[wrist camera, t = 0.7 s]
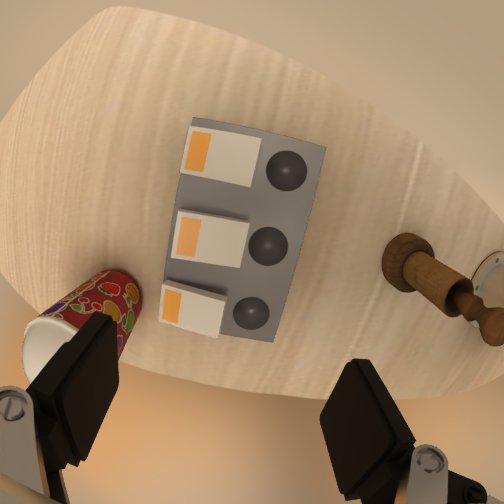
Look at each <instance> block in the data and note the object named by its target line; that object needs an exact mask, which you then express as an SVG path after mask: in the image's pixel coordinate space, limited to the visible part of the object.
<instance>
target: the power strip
mask: <svg viewBox="0 0 504 504" xmlns="http://www.w3.org/2000/svg"><path fill="white" fill-rule="evenodd" d="M191 126H195V127H202V128H208V129H214V130H220V131H226V132H232V133H237V134H242V135H248V136H252V137H257V138H262V140H263V142H262V147H261V151H260V155H259V160H258V164H257V168H256V173H255V177H254V181H253V186H252V187H246V186H242V185H237V184H233V183H228V182H223V181H219V180H214V179H209V178H204V177H199V176H194V175H189V174H184V173H181V174H180V179H179V184H178V189H177V195H176V200H175V206H174V212H173V218H172V224H171V230H170V237H169V243H168V250H167V258H166V265H165V273H164V281H163V283H164V282H165V281H166V280H170V281H174V282H177V283H181V284H184V285H188V286H191V287H195V288H198V289H202V290H206V291H209V292H213V293H217V294H220V295H224V296H228V298H227V303H226V308H225V313H224V317H223V322H222V327H221V331H220V334H224V335H230V336H235V337H241V338H247V339H253V340H259V341H266V342H272V343H273V341H274V338H275V335H276V332H277V328H278V325H279V322H280V319H281V315H282V312H283V309H284V305H285V302H286V299H287V295H288V292H289V289H290V285H291V282H292V278H293V275H294V271H295V268H296V264H297V261H298V257H299V253H300V250H301V246H302V243H303V239H304V235H305V231H306V228H307V224H308V220H309V216H310V212H311V209H312V205H313V201H314V197H315V193H316V189H317V185H318V181H319V177H320V172H321V168H322V164H323V160H324V156H325V151H326V147H323V146H320V145H316V144H313V143H310V142H306V141H302V140H299V139H295V138H291V137H287V136H283V135H279V134H275V133H271V132H267V131H263V130H258V129H254V128H249V127H245V126H240V125H235V124H230V123H225V122H219V121H214V120H208V119H202V118H196V117H193V119H192V123H191ZM179 209H185V210H191V211H197V212H202V213H208V214H214V215H220V216H225V217H231V218H236V219H242V220H247V221H248V222H249V223H250V225H249V229H248V234H247V238H246V243H245V247H244V252H243V256H242V260H241V265H240V268H236V267H229V266H222V265H216V264H209V263H202V262H196V261H189V260H183V259H176V258H171V252H172V246H173V239H174V233H175V226H176V220H177V215H178V210H179Z"/></svg>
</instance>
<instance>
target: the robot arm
mask: <svg viewBox="0 0 504 504" xmlns="http://www.w3.org/2000/svg"><path fill="white" fill-rule="evenodd" d="M472 283H473V287H474V295H477V296H479V297H481V298H482V299H483V302H484V306H485V307H487V308H494V307H502V308H504V252H497V253H494V254H492V255H491V256H489V257H488V258H487V259H486V260H485V261H484V262H483V263H482V265H481V266H480V267H479V269H478V270H477V272H476V274H475V276H474V278H473V280H472ZM470 323H471V324H472V325H473V326H474V327H476V328H479V324H478V323H477V321H476V320H474V321H472V322H470ZM118 385H119V372H118V346H117V322H116V321H113V318H112V316H111V315H108V314H104V313H101V312H97V311H95V312H94V313H93V314H92V315H91V316H90V318H89V319H88V320H87V321H86V322H85V323H84V325H83V326H82V327H81V328H80V329H79V330H78V332H77V333H76V334H75V335H74V336H73V337H72V339H71V340H70V341H69V342H65V343H64V344H62V346H61V347H60V348H59V349H58V350H57V352H56V353H55V354H54V355H53V356H52V358H51V359H50V360H49V361H48V362H47V364H46V365H45V366H44V367H43V369H42V370H41V371H40V372H39V374H38V375H37V376H36V378H35V379H34V380H33V381H32V383H31V384H30V386H29V387H28V388H27V389H26V391H24V390H23V389H21V388H19V387H15V386H3V387H1V388H0V504H70V501H69V498H68V494H67V490H66V487H65V483H64V478H63V474H62V470H61V469H65V467H66V465H67V463H69V464H71V465H74V466H76V467H78V465H79V462H80V460H82V461H85V460H86V459H87V457H88V454H89V452H90V449H91V447H92V445H93V443H94V440H95V438H96V436H97V433H98V431H99V429H100V426H101V424H102V422H103V420H104V417H105V415H106V413H107V411H108V409H109V406H110V404H111V402H112V400H113V398H114V396H115V394H116V391H117V389H118ZM320 424H321V428H322V431H323V434H324V438H325V441H326V445H327V449H328V452H329V456H330V460H331V463H332V467H333V470H334V474H335V477H336V481H337V485H338V488H339V491H340V493H341V494H344V497H345V500H346V501H348V500H356V499H361V502H362V504H504V502H502V501H500V500H498V499H496V498H494V497H492V496H490V495H489V496H487V493H486V490H485V488H484V487H483V486H482V485H481V484H480V483H478V482H476V481H474V480H471V479H469V478H466V477H464V476H462V475H459V474H457V473H454V472H452V471H450V470H448V461H447V458H446V456H445V454H444V453H443V452H442V451H441V450H440V449H438V448H437V447H434V446H432V445H427V444H424V445H420V446H418V447H416V448H415V447H414V445H413V444H414V443H415V441H416V439H415V438H414V436H413V434H412V432H411V430H410V428H409V427H408V425H407V423H406V421H405V420H404V418H403V416H402V414H401V413H400V411H399V409H398V407H397V406H396V404H395V402H394V400H393V399H392V397H391V395H390V393H389V392H388V390H387V388H386V387H385V385H384V383H383V382H382V380H381V378H380V376H379V375H378V373H377V371H376V370H375V368H374V366H373V365H372V363H371V361H370V360H368V359H356V358H355V359H352V360H351V362H348V363H347V364H346V365H345V367H344V369H343V371H342V373H341V375H340V377H339V380H338V381H337V383H336V385H335V387H334V389H333V391H332V393H331V395H330V397H329V399H328V401H327V403H326V404H325V406H324V408H323V410H322V412H321V414H320Z"/></svg>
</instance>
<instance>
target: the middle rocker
mask: <svg viewBox="0 0 504 504" xmlns="http://www.w3.org/2000/svg"><path fill="white" fill-rule="evenodd" d="M249 225H250V223H249V222H248V221H247V220H242V219H236V218H231V217H225V216H220V215H214V214H208V213H202V212H197V211H191V210H185V209H179V210H178V215H177V220H176V226H175V233H174V239H173V246H172V252H171V258H176V259H183V260H189V261H196V262H202V263H209V264H216V265H222V266H229V267H236V268H240V265H241V260H242V256H243V252H244V247H245V243H246V238H247V234H248V229H249Z"/></svg>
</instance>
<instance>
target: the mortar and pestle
mask: <svg viewBox="0 0 504 504" xmlns="http://www.w3.org/2000/svg"><path fill="white" fill-rule="evenodd" d="M382 270H383V274H384V276H385V278H386V280H387V281H388V282H389V283H390V284H391V285H393V286H394V287H395V288H396V289H398V290H399V291H401V292H406V293H408V292H414V291H416V290H417V291H418V292H420V293H421V294H422V295H423V296H424V297H426V298H427V299H428V300H429V301H430V302H432V303H433V304H434V305H435V306H436V307H438V308H439V309H440V310H441V311H442V312H443V313H444V314H446V315H447V316H448V317H457V316H459V315H461V314H462V315H463V316H464V318H465V319H466V320H467V321H469V322H472V321H474V320H476V321H477V323H478V324H479V328H480V332H481V335H482V338H483V340H484V341H485V342H486V343H487V344H489V345H491V346H501V345H503V344H504V308H502V307H494V308H487V307H485V306H484V302H483V299H482V298H481V297H479V296H477V295H474V287H473V283H472V282H471V280H469V279H468V278H466V277H465V276H463V275H461V274H460V273H458V272H456V271H454V270H453V269H451V268H449V267H448V266H446V265H444V264H443V263H441V262H439V261H438V260H436V259H435V256H434V251H433V249H432V247H431V245H430V244H429V243H428V242H427V241H426V240H424V239H422V238H420V237H418V236H416V235H414V234H410V233H405V234H401V235H399V236H397V237H396V238H394V239H393V240H392V241H391V242H390V243H389V245H388V246H387V248H386V250H385V252H384V255H383V259H382Z"/></svg>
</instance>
